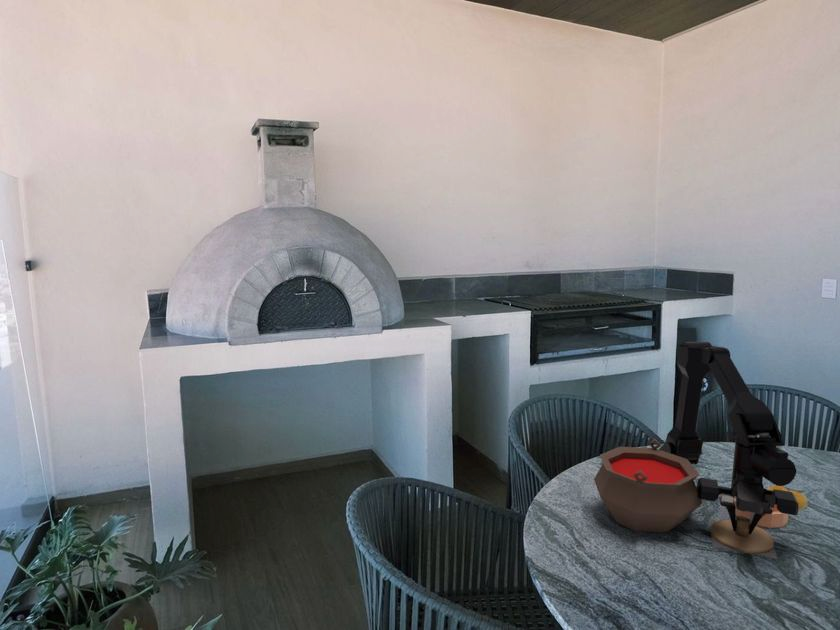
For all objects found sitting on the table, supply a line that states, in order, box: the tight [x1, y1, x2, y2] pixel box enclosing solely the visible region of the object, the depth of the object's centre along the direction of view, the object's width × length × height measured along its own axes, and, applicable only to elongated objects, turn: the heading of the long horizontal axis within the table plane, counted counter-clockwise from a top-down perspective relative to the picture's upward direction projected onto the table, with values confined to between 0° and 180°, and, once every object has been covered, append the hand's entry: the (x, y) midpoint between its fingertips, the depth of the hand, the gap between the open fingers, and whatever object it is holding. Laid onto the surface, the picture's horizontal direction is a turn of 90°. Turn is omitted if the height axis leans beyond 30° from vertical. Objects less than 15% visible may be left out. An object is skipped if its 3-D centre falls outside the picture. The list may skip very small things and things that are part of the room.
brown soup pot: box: [593, 438, 703, 533], centre depth 135 cm, size 24×24×16 cm
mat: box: [708, 519, 778, 560], centre depth 127 cm, size 12×12×1 cm
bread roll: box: [766, 484, 808, 510], centre depth 143 cm, size 8×9×4 cm
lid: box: [710, 516, 775, 554], centre depth 126 cm, size 12×12×4 cm
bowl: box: [734, 498, 790, 529], centre depth 136 cm, size 11×11×4 cm
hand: (741, 531), depth 126 cm, fingers closed on lid, 3 cm apart
